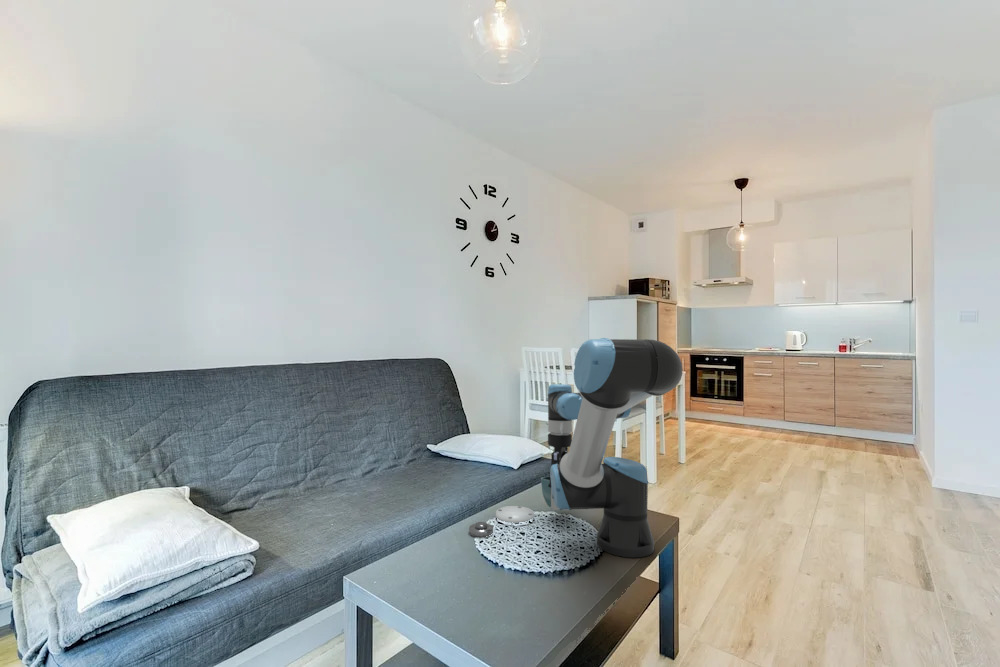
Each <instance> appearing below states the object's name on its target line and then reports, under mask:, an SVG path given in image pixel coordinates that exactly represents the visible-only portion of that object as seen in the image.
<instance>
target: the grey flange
mask: <svg viewBox="0 0 1000 667" xmlns="http://www.w3.org/2000/svg"><path fill="white" fill-rule="evenodd" d="M533 517H534V518H535V512H534V511H533V509H531V508H528V507H526V506H520V505H506V506H502V507H499V508H497V510H496V511H495V519H496V518H498V519H499V520H501V521H505V522H511V523H512V522H513V523H518V522H525V521H528V520H530V519H532V518H533Z"/></svg>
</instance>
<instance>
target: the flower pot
mask: <svg viewBox="0 0 1000 667" xmlns="http://www.w3.org/2000/svg"><path fill="white" fill-rule="evenodd" d="M540 482H541V483H540V484H541V493H542V496H543V499H544V501H545V503H546V505H547V507H549V508H551V487H548V484H550V475H549V476H544V477H543V476H542V477H540ZM563 510H564V509H560V510H559V511H563Z"/></svg>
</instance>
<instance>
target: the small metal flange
mask: <svg viewBox="0 0 1000 667" xmlns="http://www.w3.org/2000/svg"><path fill="white" fill-rule="evenodd" d="M492 533H493V534H494V526H493V525H491V524H489V523H488V522H484V521H477V522H475V523H473V524H471V525H469V527H468V535H469V536H471V537H473V538H476V537H486V536H489V535H491V534H492ZM491 536H492V535H491ZM489 537H490V536H489ZM486 538H487V537H486Z"/></svg>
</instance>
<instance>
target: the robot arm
mask: <svg viewBox="0 0 1000 667" xmlns="http://www.w3.org/2000/svg"><path fill="white" fill-rule="evenodd" d="M573 366H574V369H573V381H574V385H575V387H576V389H577V390H578V391H579V392H573V389H572V385H570V384H563V383H561V384H560V383H559V384H558V383H556V384H555V383H553V384H549V386H548V390H547V391H548V392H547V399H548V400H547V404H548V405H547V418H548V419H547V422H546V425H547V427H548V428H547V432H549V433H548V434H547V444H548V446H549V447H553V448H554V449H553V452H552V453H551V460H550V462H551V463H550V470H549V471H550V472H549V473H550V475H549V476H550V484H548V487H551V507H550V509H551V510H555V511H556V510H557V511H561V510H560V509H563V510H569V511H571V510H593V509H594V510H595V509H603V515H602V518H601V522H600V525H599V528H598V530H597V532H596V544H597V546H598V545H599V546H598V548H600V549H601V550H602V551H604V552H607V553H608V554H611V555H614V556H617V557H618V556H619V557H624V558H644V557H647V556H650V555H652V554H653V553H654V552H655V539H654V536H653V534H652V531H651V526H650V524H649V520H648V498H649V497H648V493H649V492H648V491H649V490H648V488H649V486H648V485H649V478H648V469H647V468H646V466H645V465H644V464H642V463H640V462H638V461H637V460H633V459H630V458H629V459H628V458H624V457H619V456H606V457H605V453H606V451H607V447H608V444H609V441H610V438H611V435H612V431H613V429H614V426H615V422H616V421H617V419H625V418H628V417H629V416H630V414H631V413H632V412H631V411H632V408H633V407H635V406H637V405H638V404H640V403H642V402H644V401H646V400H648V399H649V398H651V397H652V396H655V397H658V396H663V395H665V394H667V393H669V392H671V391H672V390H674V389H675V388H676V387H677V385H679V383H680V381H681V379H682V378H683V377H682V376H683V363H682V360H681V358H680V356H679V354H678V353H677V352H676V350H674V349H673V348H672V347H671V345H668V344H666V343H664V341H663V342H662V341H660V340H656V339H630V338H629V339H628V338H627V339H612V338H611V339H610V338H607V337H602V338H592V339H588V340H586V341H584V342H583V343H582V344H581V345H580V346H579V348H578V351H577V352H576V355H575V359H574V364H573ZM575 420H576V422H575V427H574V431H573V421H575ZM572 432H573V434H571V433H572ZM568 449H569V450H568ZM602 462H603V463H602Z"/></svg>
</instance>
